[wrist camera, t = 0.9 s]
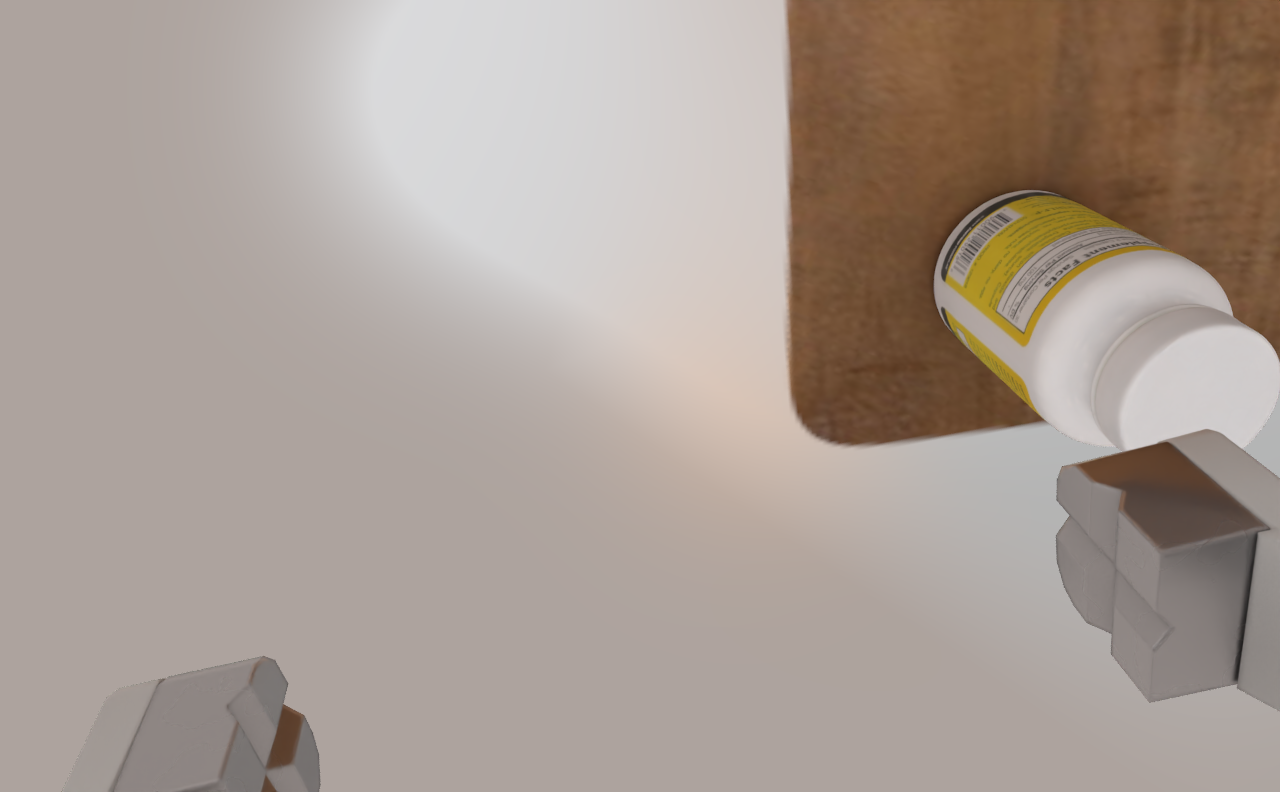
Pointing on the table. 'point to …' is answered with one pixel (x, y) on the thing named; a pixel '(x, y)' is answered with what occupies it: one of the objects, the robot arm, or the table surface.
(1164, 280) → the supplement bottle
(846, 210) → the table surface
